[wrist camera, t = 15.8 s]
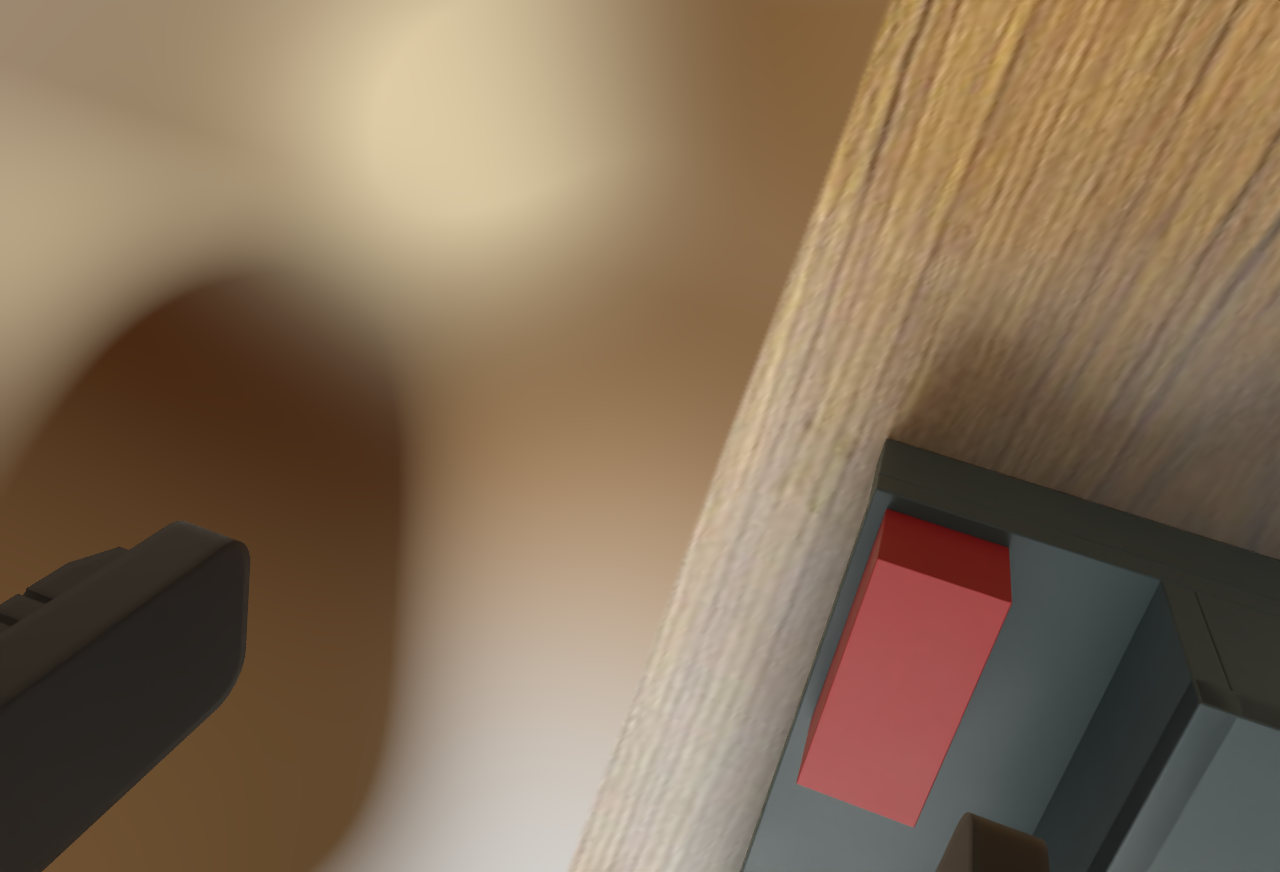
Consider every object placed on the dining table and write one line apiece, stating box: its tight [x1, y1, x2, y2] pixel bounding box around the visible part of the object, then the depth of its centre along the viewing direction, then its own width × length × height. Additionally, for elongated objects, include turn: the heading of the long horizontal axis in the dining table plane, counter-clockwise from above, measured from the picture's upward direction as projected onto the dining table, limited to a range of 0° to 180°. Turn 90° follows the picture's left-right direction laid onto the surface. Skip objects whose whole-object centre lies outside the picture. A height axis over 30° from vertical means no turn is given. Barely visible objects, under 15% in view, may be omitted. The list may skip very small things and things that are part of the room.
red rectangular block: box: [797, 509, 1012, 827], centre depth 34 cm, size 9×4×4 cm, turn 168°
